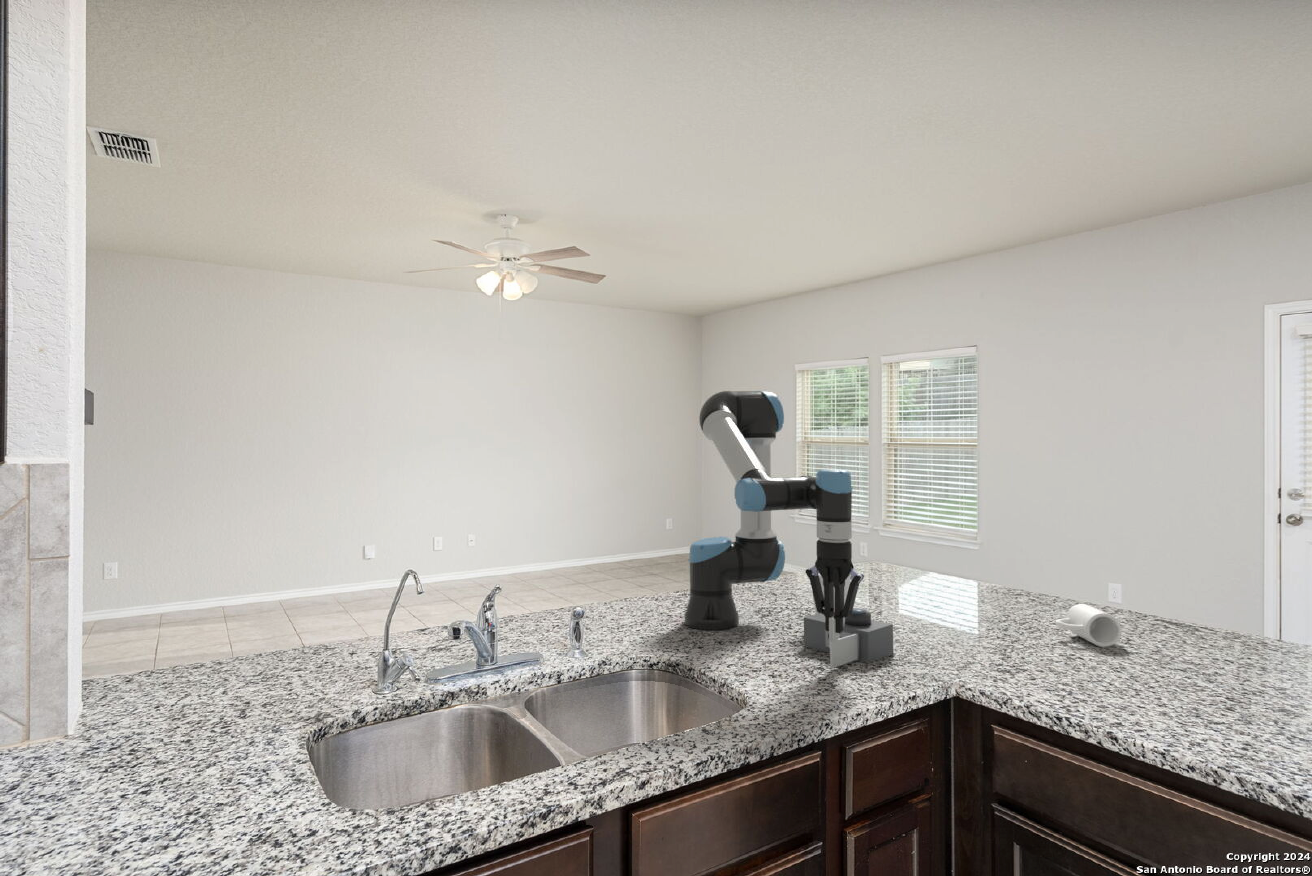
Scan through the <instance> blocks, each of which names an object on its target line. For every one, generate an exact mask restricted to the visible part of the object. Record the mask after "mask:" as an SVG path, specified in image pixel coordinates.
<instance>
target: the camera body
mask: <svg viewBox="0 0 1312 876" xmlns="http://www.w3.org/2000/svg"><path fill="white" fill-rule="evenodd" d="M833 616H834V614H833ZM855 633H858V634H859V659H858V660H856V661H858V662H861V663H865V664H872V663H874V662H877V661H880V660H882V659H884V658H887V657H890V656H893V655H894V624H893V623H889V622H884V621H881V620H875V619H872V613H871V612H870V611H868V610H867V609H865V608H860V607H859V608H857V607H856V608H854V607H853V611H852V614H851V615H849V616H847V617H844V618H843V631H842V632H841V633H839V638H843V637H846V636H849V635H853V634H855ZM803 646H804V647H807V648H809V649H813V650H817V651H821V652H825V653H829V654H830V648H829V631H826V629H825V616H824V615H823V614H822V613H818V614H816V613H814V614H811V615H807V616H804V617H803Z"/></svg>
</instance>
